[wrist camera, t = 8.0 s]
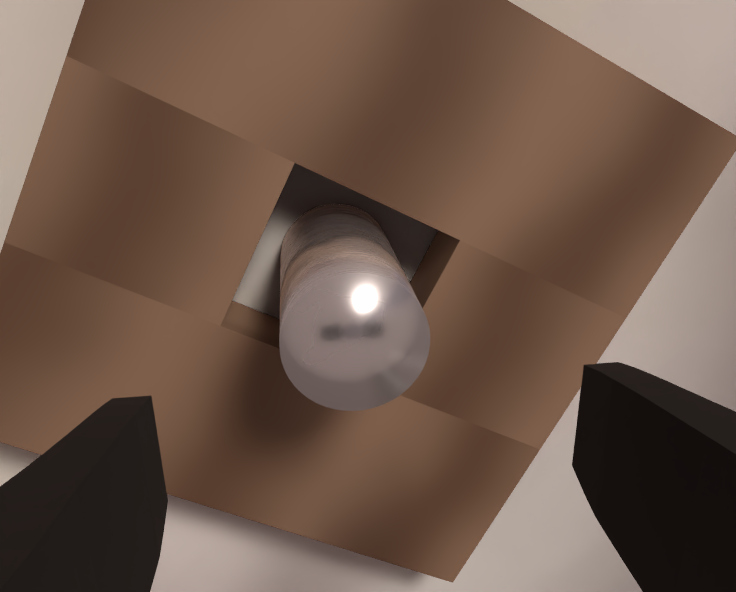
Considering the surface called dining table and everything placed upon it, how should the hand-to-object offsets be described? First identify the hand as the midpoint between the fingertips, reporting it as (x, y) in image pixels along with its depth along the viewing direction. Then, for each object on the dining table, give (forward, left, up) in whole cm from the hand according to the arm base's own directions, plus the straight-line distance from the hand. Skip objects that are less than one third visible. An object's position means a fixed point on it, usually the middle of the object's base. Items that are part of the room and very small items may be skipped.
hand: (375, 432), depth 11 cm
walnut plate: (0, 0, -9) cm, 9 cm away
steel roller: (0, 0, -9) cm, 9 cm away
